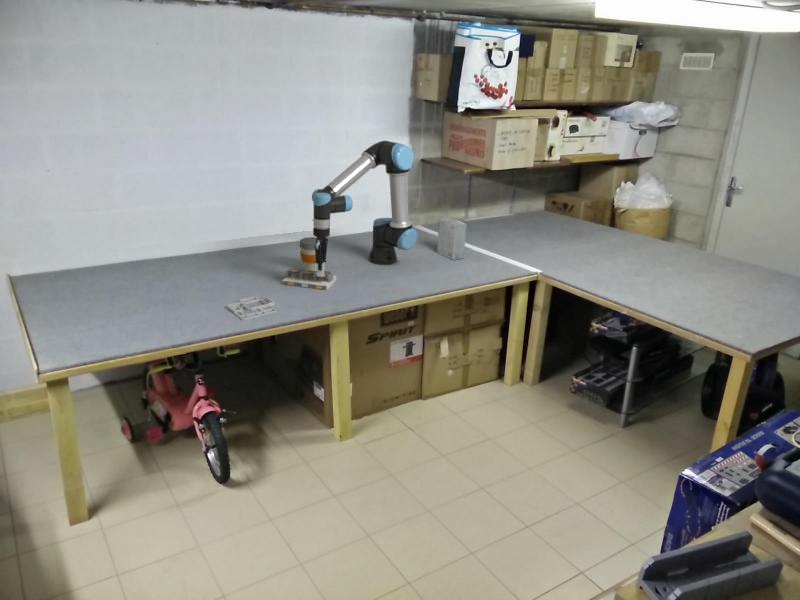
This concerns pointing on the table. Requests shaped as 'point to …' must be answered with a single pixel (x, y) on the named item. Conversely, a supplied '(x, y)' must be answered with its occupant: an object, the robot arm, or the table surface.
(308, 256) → the reusable coffee cup
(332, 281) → the switch unit
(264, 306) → the floor plan model
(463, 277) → the table surface
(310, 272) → the rocker middle
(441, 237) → the hard drive box
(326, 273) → the rocker
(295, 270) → the rocker
